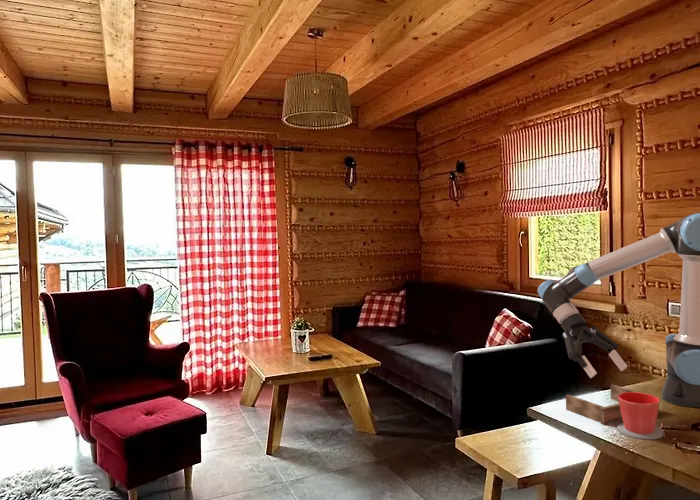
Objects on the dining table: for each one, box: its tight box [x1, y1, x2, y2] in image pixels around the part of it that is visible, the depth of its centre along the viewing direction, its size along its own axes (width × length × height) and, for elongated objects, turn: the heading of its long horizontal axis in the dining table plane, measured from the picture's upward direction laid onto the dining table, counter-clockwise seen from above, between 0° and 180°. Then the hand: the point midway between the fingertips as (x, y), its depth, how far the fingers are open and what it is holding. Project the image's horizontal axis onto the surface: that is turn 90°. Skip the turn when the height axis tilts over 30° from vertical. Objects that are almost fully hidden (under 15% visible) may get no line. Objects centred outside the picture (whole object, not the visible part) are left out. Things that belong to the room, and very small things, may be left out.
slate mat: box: [616, 422, 664, 441], centre depth 151 cm, size 12×12×1 cm
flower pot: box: [618, 391, 661, 434], centre depth 150 cm, size 11×11×10 cm
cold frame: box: [565, 384, 654, 426], centre depth 169 cm, size 16×24×5 cm, turn 113°
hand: (609, 372), depth 159 cm, fingers open, 13 cm apart
